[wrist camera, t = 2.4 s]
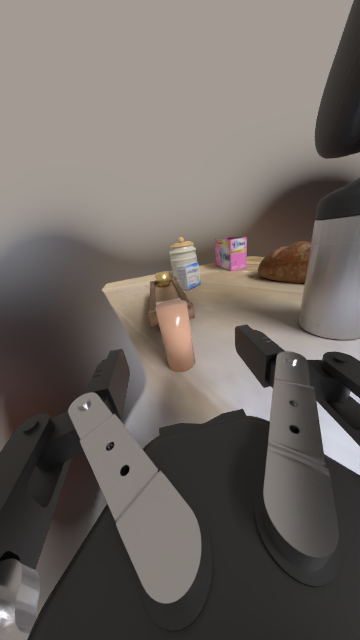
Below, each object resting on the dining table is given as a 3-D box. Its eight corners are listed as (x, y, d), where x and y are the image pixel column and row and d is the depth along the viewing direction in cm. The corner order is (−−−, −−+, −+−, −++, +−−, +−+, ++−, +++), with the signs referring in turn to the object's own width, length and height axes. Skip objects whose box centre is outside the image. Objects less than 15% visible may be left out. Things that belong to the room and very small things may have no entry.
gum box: (215, 264, 103) (213, 239, 97) (228, 262, 103) (227, 237, 97) (230, 271, 81) (229, 239, 75) (247, 268, 81) (247, 236, 75)
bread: (269, 271, 71) (271, 241, 66) (373, 275, 50) (388, 231, 45) (249, 281, 63) (250, 247, 58) (364, 291, 41) (381, 239, 37)
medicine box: (188, 290, 64) (185, 266, 60) (179, 289, 66) (175, 266, 63) (200, 284, 69) (198, 261, 65) (192, 283, 71) (189, 262, 68)
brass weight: (170, 283, 57) (167, 270, 55) (171, 286, 53) (168, 272, 51) (157, 285, 57) (155, 273, 55) (158, 288, 53) (155, 275, 51)
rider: (192, 351, 30) (183, 297, 26) (198, 368, 26) (189, 307, 22) (167, 356, 30) (155, 303, 26) (169, 374, 26) (155, 314, 22)
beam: (178, 293, 62) (175, 276, 59) (196, 330, 37) (192, 304, 34) (153, 298, 61) (149, 281, 59) (154, 339, 36) (147, 313, 33)
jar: (203, 272, 88) (199, 233, 80) (189, 279, 79) (183, 236, 72) (183, 272, 96) (177, 237, 88) (167, 278, 87) (160, 240, 79)
